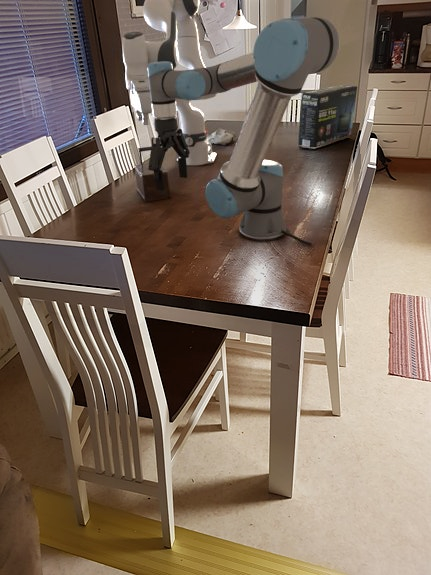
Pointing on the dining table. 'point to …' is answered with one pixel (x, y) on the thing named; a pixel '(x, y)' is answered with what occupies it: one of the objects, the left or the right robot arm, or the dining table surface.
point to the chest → (151, 188)
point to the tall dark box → (146, 165)
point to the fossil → (221, 136)
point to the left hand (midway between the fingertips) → (142, 122)
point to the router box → (326, 115)
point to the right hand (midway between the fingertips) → (172, 183)
